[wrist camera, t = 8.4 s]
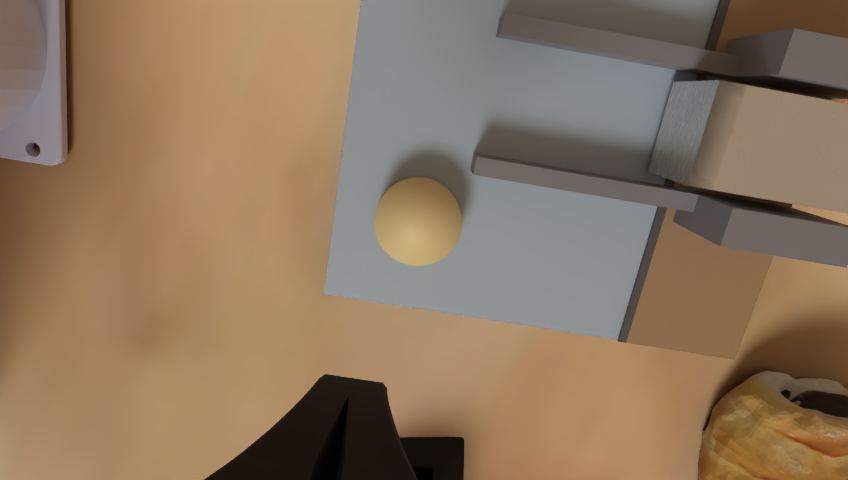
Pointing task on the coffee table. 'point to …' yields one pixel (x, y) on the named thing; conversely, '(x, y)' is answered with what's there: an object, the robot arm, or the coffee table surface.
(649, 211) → the door board
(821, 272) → the coffee table surface
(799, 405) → the pastry
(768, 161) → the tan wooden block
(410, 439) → the black block
